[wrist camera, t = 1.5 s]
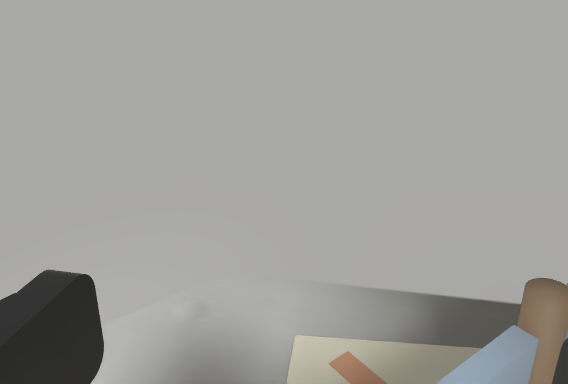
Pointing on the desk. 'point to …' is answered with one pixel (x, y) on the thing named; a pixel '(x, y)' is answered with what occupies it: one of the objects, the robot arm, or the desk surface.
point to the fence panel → (498, 361)
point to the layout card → (371, 361)
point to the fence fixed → (545, 324)
